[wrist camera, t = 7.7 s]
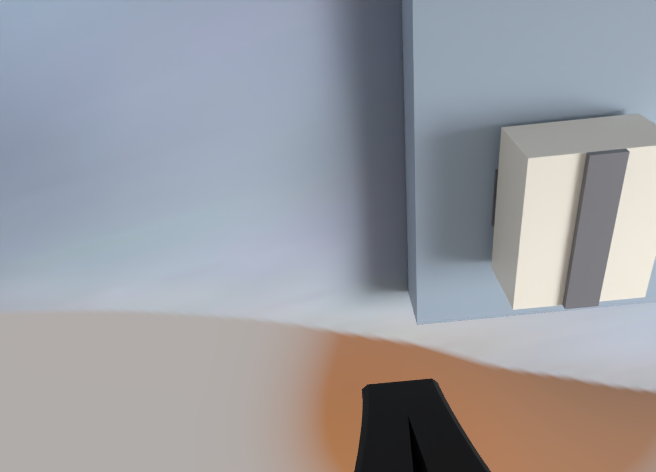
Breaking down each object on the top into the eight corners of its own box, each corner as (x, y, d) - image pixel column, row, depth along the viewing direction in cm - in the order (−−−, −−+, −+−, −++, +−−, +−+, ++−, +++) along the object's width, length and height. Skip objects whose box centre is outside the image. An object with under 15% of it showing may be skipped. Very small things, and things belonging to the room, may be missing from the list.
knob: (638, 113, 16) (689, 145, 14) (609, 255, 19) (648, 301, 17) (501, 127, 16) (531, 161, 14) (491, 267, 19) (515, 313, 17)
